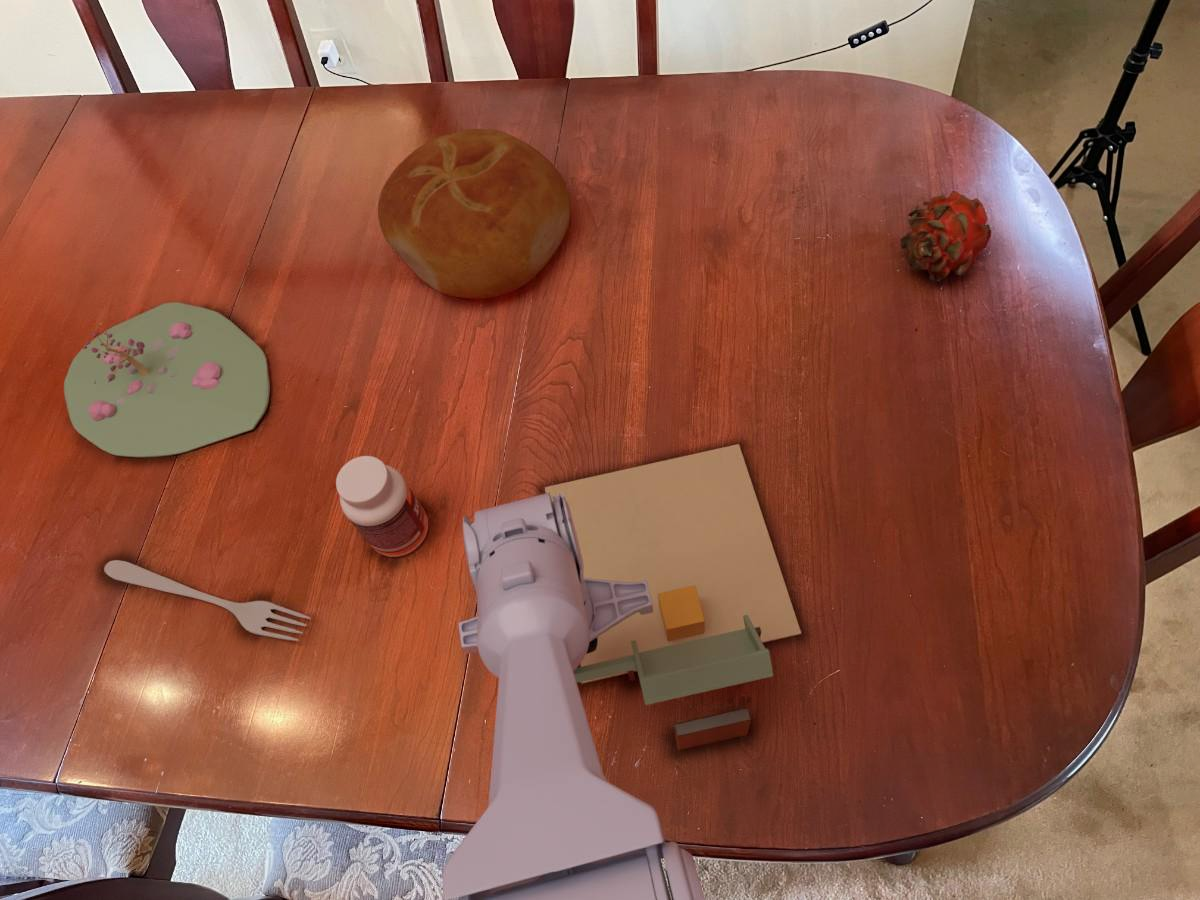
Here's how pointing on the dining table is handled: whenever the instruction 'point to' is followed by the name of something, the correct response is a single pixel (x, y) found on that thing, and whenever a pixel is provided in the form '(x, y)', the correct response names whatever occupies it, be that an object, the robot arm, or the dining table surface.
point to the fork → (209, 599)
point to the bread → (475, 212)
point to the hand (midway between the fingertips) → (569, 646)
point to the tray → (691, 665)
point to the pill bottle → (381, 506)
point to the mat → (680, 547)
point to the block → (681, 613)
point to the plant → (167, 383)
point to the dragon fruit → (946, 235)
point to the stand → (711, 725)
